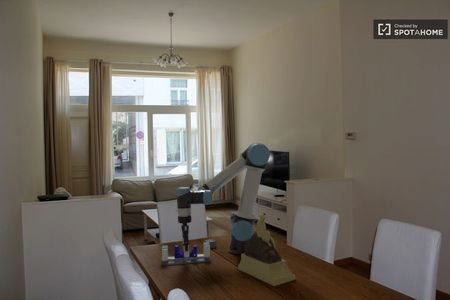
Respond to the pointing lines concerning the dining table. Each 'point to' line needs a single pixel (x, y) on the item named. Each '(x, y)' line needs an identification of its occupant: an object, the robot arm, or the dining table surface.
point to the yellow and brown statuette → (264, 258)
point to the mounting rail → (186, 260)
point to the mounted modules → (205, 249)
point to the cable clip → (180, 254)
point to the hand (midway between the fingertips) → (186, 253)
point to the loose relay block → (211, 243)
